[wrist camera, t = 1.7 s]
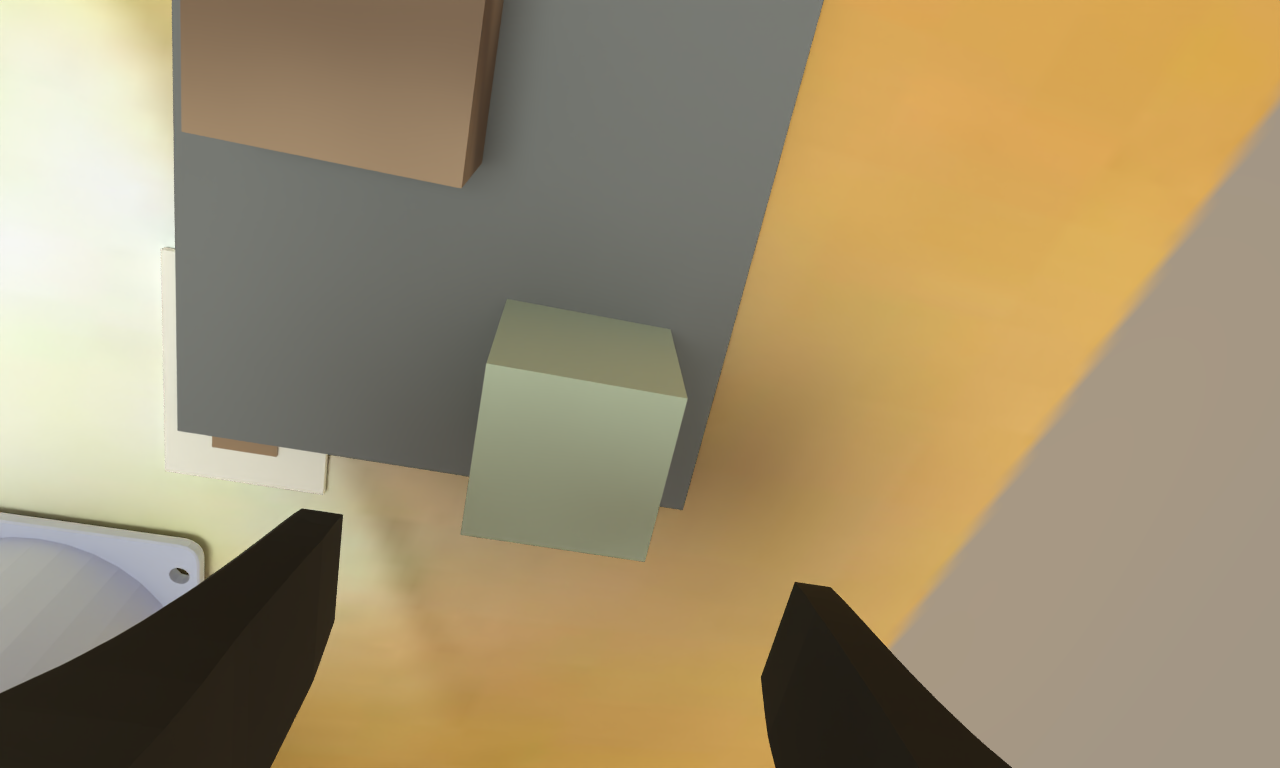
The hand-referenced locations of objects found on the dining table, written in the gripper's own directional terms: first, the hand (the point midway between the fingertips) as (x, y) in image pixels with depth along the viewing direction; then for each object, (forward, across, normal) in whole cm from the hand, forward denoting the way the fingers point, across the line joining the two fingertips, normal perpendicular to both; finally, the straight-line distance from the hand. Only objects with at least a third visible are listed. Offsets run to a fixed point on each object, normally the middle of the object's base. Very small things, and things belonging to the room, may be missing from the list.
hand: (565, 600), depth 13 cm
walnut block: (+8, +6, -8) cm, 12 cm away
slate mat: (+9, +3, -4) cm, 10 cm away
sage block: (+8, 0, 0) cm, 8 cm away
